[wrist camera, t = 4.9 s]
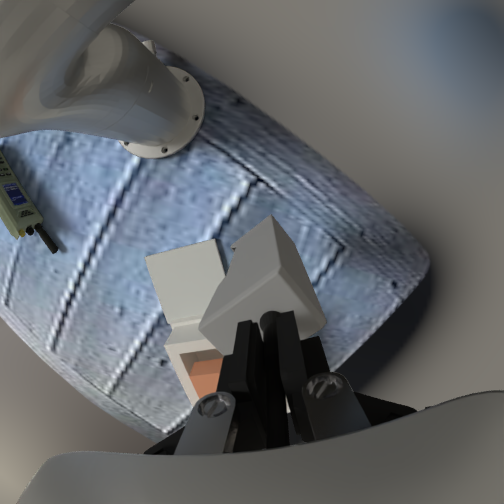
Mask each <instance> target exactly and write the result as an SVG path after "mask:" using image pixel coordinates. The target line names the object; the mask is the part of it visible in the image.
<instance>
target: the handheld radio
mask: <svg viewBox="0 0 504 504" xmlns="http://www.w3.org/2000/svg"><path fill="white" fill-rule="evenodd" d="M0 217H1V219H2V221H3V222H4V224H5V226H6V227H7V229H8V230H9V232H10V234H11V235H12V236H14V237H15V238H16V240H17V239H18V238H19V235H20V236H21V237H24V236H25V232H26V233H27V234H28V235H33V233H34V229H35V230H36V232H38V233H39V235H40V237H41V238H42V240H43V241H44V243H45V244H46V245H47V247H48V248H49V249H50V251H51V252H52V253H53V254H54V253H56V252H57V251H58V249H59V248H58V247H57V246H56V245H55V243H54V242H53V241H52V239H51V238H50V236H49V235H48V234H47V232H46V231H45V230H44V229H43V228H42V225H41V223H42V222H43V217H42V216H41V214H40V213H39V211H38V210H37V208H36V207H35V206H34V204H33V203H32V201H31V200H30V198H29V197H28V195H27V193H26V192H25V190H24V189H23V187H22V186H21V184H20V183H19V181H18V179H17V178H16V176H15V174H14V173H13V171H12V169H11V168H10V166H9V164H8V163H7V161H6V159H5V157H4V156H3V154H2V152H1V150H0Z"/></svg>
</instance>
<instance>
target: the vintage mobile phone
mask: <svg viewBox="0 0 504 504" xmlns="http://www.w3.org/2000/svg"><path fill="white" fill-rule="evenodd" d="M231 249H232V250H233V251H234V255H233V258H232V261H231V264H230V266H229V269H228V272H227V275H226V276H225V278H224V279H223V280H222V281H221V283H220V284H219V285H218V287H217V289H216V291H215V293H214V295H213V297H212V299H211V301H210V303H209V305H208V307H207V309H206V311H205V313H204V315H203V317H202V319H201V321H200V323H199V327H198V330H199V331H200V332H201V333H202V334H203V335H204V337H205V338H206V339H207V340H208V341H209V342H210V343H211V344H212V345H213V346H214V347H215V348H216V349H217V350H218V351H219V352H220V353H221V354H222V355H223V356H225V355H230V354H233V349H234V343H235V337H236V331H237V325H238V322H242V321H246V320H252V322H253V323H254V322H257V323H258V325H259V329H260V332H261V336H262V339H263V362H264V369H265V373H266V414H267V449H271V448H278V447H284V446H290V444H289V433H288V432H289V431H288V419H287V406H286V394H285V391H284V387H283V384H282V380H281V374H280V365H279V351H278V337H277V324H276V318H277V317H281V313H283V312H288V311H292V310H294V314H295V319H296V323H297V328H298V332H299V337H300V340H304V339H307V338H308V337H310V336H311V335H313V334H314V333H316V332H317V331H319V330H320V329H322V328H323V327H324V325H325V324H326V323H327V321H326V318H325V316H324V313H323V311H322V308H321V306H320V303H319V301H318V299H317V296H316V294H315V291H314V289H313V286H312V284H311V282H310V279H309V277H308V274H307V272H306V270H305V267H304V265H303V262H302V260H301V258H300V255H299V253H298V251H297V248H296V246H295V244H294V242H293V241H292V240H291V238H290V237H289V236H288V235H287V233H286V232H285V231H284V230H283V228H282V227H281V226H280V224H279V223H278V222H277V221H276V219H275V218H274V217H273V216H272V215H269V216H268V217H267V218H266V219H264V220H263V221H262V222H260V223H259V224H258V225H257V226H255V227H254V228H253V229H251V230H250V231H249V232H248V233H246V234H245V235H244V236H242V237H241V238H240V239H239V240H237V241H236V242H235V243H234V244H232V245H231Z"/></svg>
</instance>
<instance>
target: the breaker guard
mask: <svg viewBox="0 0 504 504" xmlns="http://www.w3.org/2000/svg"><path fill="white" fill-rule="evenodd" d="M203 315H204V314H200V315H195V316H190V317H184V318H179V319H173V321H172V322H171V327H172V330H173V331H172V332H171V334H170V336H169V338H168V339H167V341H166V343H165V345H164V346H165V349H166V351H167V353H168V356H169V358H170V360H171V362H172V365H173V367H174V369H175V371H176V373H177V375H178V378H179V380H180V382H181V384H182V386H183V388H184V390H185V392H186V394H187V396H188V398H189V400H190V402H191V404H192V406H193V407H194V405H195V404H196V402H197V401H198V400H199V397H198V395H197V393H196V391H195V388H194V386H193V384H192V382H191V380H190V378H189V375H190V372H191V370H192V367H193V364H194V362H200V361H207V360H213V359H220V358H223V357H224V356H223V355H222V354H221V353H220V352H219V351H218V350H217V349H216V348H215V347H214V346H213V345H212V344H211V343H210V342H209V341H208V340H207V339H206V338H205V337H204V335H203V334H202V333H201V332H200V331H199V330H198V327H199V323H200V321H201V319H202V317H203ZM286 406H287V413H288V412H290V409H289V405H288V402H287V398H286Z"/></svg>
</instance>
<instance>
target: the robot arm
mask: <svg viewBox="0 0 504 504" xmlns="http://www.w3.org/2000/svg"><path fill="white" fill-rule="evenodd" d="M134 1H135V0H0V138H3V137H8V136H13V135H18V134H22V133H27V132H31V131H38V130H60V131H69V132H75V133H82V134H88V135H93V136H99V137H104V138H110V139H115V140H118V141H119V143H120V144H121V145H122V146H123V147H124V148H125V149H126V150H127V151H128V152H130V153H131V154H134V155H136V156H138V157H142V158H147V159H158V158H164V157H168V156H171V155H173V154H175V153H177V152H179V151H180V150H182V149H183V148H184V147H186V146H187V145H188V144H189V143H190V142H191V141H192V140H193V139H194V137H195V136H196V134H197V133H198V131H199V129H200V127H201V125H202V123H203V119H204V115H205V99H204V94H203V92H202V89H201V87H200V86H199V84H198V82H197V81H196V80H195V79H194V78H193V76H191V75H190V74H189V73H187V72H186V71H184V70H182V69H180V68H176V67H172V66H165V65H164V64H163V63H162V62H161V61H160V59H158V58H157V57H156V47H155V42H154V41H152V40H149V41H145V42H143V43H142V42H141V41H140V40H138V39H137V38H136V37H135V36H134V35H133V34H132V33H131V32H129V31H128V30H126V29H124V28H123V27H120V26H118V25H115V24H111V23H110V22H111V21H112V20H113V19H114V18H116V17H117V16H118V15H119V14H120V13H121V12H122V11H123V10H124V9H126V8H127V7H128V6H129V5H130V4H131V3H133V2H134ZM188 79H189V81H188V82H186V80H188ZM196 117H199V119H198V120H195V118H196ZM128 142H130V143H129V144H128ZM166 149H168V151H167V152H165V150H166ZM276 324H277V337H278V351H279V365H280V374H281V380H282V384H283V387H284V391H285V394H286V398H287V402H288V405H289V409H290V413H291V416H292V419H293V423H294V427H295V431H296V434H297V435H300V434H301V437H302V440H303V441H304V442H307V443H302V444H296V445H291V446H284V447H278V448H271V449H264V448H267V414H266V373H265V369H264V362H263V339H262V336H261V332H260V329H259V325H258V323H257V322H254V323H253V322H252V320H246V321H242V322H238V325H237V331H236V337H235V343H234V349H233V354H230V355H225V356H224V357H223V361H222V365H221V370H220V375H219V380H218V384H217V389H216V392H214V393H210V394H207V395H205V396H204V397H202V398H200V399H199V400H198V401H197V402H196V404H195V405H194V407H193V409H192V412H191V414H190V417H189V419H188V421H187V424H186V426H184V427H183V428H181V429H180V430H178V431H177V432H175V433H173V434H172V435H170V436H169V437H167V438H166V439H164V440H162V441H161V442H159V443H157V444H156V445H154V446H153V447H151V448H149V449H148V450H147V451H145V452H144V454H128V453H112V452H99V451H77V452H68V453H63V454H59V455H56V456H53V457H51V458H49V459H48V460H47V461H45V462H44V463H43V464H42V466H41V467H40V468H39V469H38V471H37V472H36V473H35V474H34V476H33V477H32V479H31V480H30V482H29V483H28V485H27V486H26V488H25V490H24V491H23V493H22V495H21V496H20V498H19V500H18V502H17V503H16V504H504V390H493V391H484V392H478V393H472V394H469V395H465V396H461V397H457V398H455V399H451V400H448V401H445V402H442V403H439V404H437V405H434V406H429V407H425V409H423V410H420V411H417V410H415V409H414V408H411V407H408V406H405V405H401V404H396V403H393V402H389V401H385V400H381V399H378V398H374V397H371V396H367V395H363V394H360V393H357V392H353V390H352V389H351V387H350V385H349V383H348V381H347V379H346V378H345V377H344V376H343V375H341V374H339V373H335V372H330V370H329V366H328V363H327V360H326V357H325V353H324V350H323V347H322V344H321V340H320V337H319V336H317V337H312V338H308V339H304V340H300V337H299V332H298V328H297V323H296V319H295V314H294V310H292V311H288V312H283V313H281V317H277V318H276ZM262 449H264V450H262Z"/></svg>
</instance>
